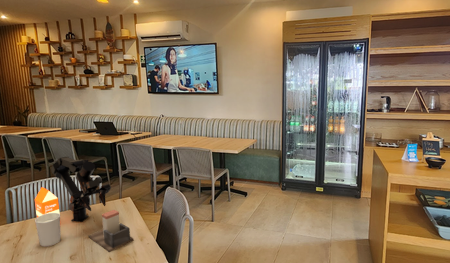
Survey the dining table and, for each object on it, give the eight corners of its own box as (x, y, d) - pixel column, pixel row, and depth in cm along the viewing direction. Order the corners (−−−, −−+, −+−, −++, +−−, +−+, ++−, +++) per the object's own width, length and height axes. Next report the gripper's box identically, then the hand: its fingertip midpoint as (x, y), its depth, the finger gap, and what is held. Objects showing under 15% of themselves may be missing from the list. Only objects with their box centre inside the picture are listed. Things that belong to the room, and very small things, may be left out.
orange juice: (44, 230, 140) (40, 192, 137) (37, 225, 146) (33, 188, 142) (61, 224, 146) (57, 188, 143) (53, 219, 152) (49, 184, 148)
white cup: (34, 249, 125) (31, 224, 123) (42, 237, 134) (39, 214, 132) (59, 245, 127) (56, 221, 125) (65, 234, 137) (62, 211, 135)
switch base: (88, 237, 134) (87, 223, 133) (112, 227, 143) (111, 214, 142) (109, 252, 122) (108, 237, 121) (133, 240, 131) (132, 226, 130)
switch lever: (103, 238, 131) (101, 214, 129) (115, 233, 135) (114, 209, 133) (108, 241, 128) (106, 216, 126) (120, 235, 133) (118, 212, 131)
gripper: (70, 178, 130) (82, 206, 125) (108, 168, 145) (121, 194, 140) (64, 190, 137) (76, 217, 132) (101, 179, 151) (113, 204, 146)
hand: (98, 208), depth 137 cm, fingers open, 7 cm apart
